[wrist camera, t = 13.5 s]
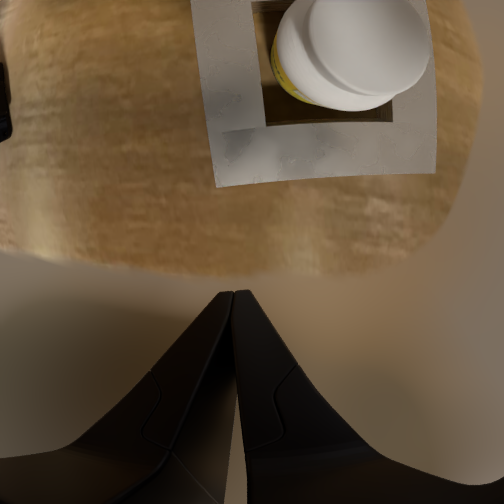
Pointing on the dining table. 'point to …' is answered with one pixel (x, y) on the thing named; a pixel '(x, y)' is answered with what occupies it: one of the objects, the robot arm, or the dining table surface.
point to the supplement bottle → (349, 51)
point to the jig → (299, 131)
